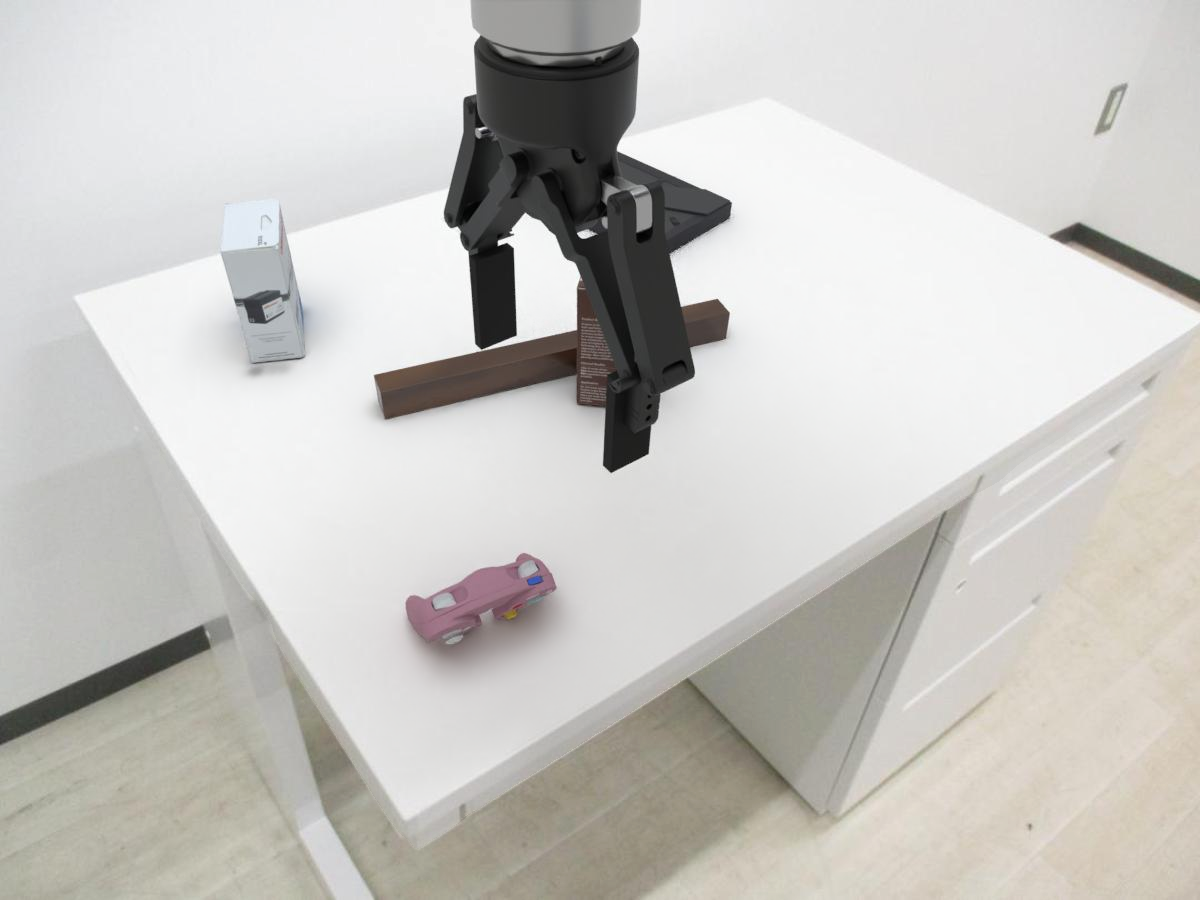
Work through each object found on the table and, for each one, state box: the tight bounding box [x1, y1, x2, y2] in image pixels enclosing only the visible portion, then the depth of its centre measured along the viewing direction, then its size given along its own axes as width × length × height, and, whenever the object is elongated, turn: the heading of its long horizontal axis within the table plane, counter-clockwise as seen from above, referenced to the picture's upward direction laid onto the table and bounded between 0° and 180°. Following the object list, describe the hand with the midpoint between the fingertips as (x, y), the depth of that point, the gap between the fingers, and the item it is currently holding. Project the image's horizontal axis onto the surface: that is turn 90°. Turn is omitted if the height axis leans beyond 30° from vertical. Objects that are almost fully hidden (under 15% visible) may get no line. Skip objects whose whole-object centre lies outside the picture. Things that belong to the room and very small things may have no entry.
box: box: [575, 275, 636, 407], centre depth 80 cm, size 6×4×12 cm
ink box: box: [219, 198, 306, 363], centre depth 85 cm, size 8×5×12 cm, turn 13°
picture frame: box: [588, 150, 733, 254], centre depth 107 cm, size 13×2×18 cm
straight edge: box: [373, 298, 731, 420], centre depth 85 cm, size 2×33×3 cm, turn 113°
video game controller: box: [405, 552, 558, 645], centre depth 64 cm, size 10×5×7 cm, turn 118°
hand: (556, 396), depth 57 cm, fingers open, 13 cm apart
